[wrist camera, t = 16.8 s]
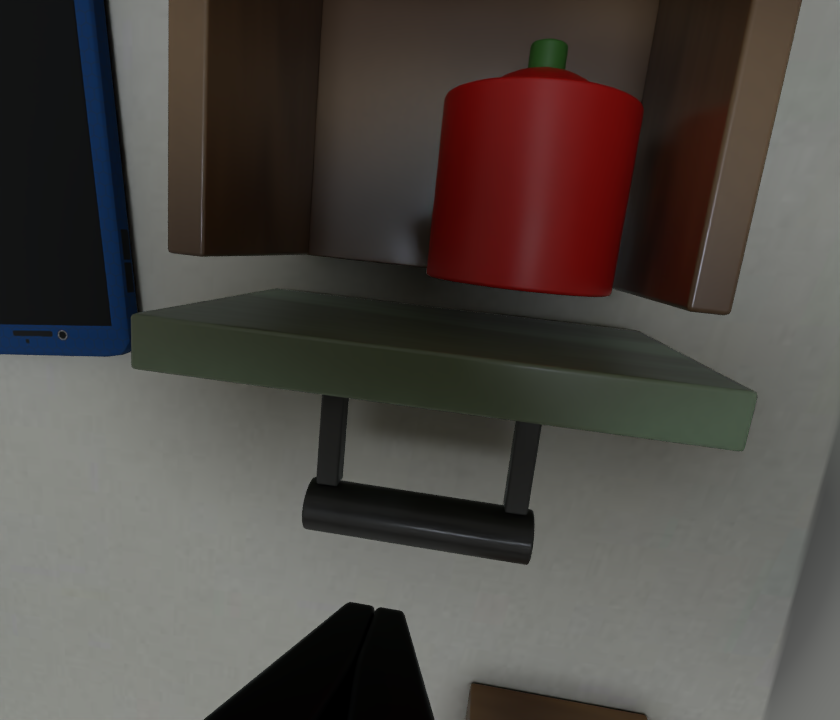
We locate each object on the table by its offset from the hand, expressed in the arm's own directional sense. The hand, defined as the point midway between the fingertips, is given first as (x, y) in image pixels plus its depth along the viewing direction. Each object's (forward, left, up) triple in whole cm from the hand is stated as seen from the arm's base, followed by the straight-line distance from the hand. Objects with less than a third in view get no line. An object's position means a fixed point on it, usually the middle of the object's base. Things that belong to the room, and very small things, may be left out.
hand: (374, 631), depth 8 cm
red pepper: (-2, -5, -8) cm, 9 cm away
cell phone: (+16, -7, -12) cm, 21 cm away
